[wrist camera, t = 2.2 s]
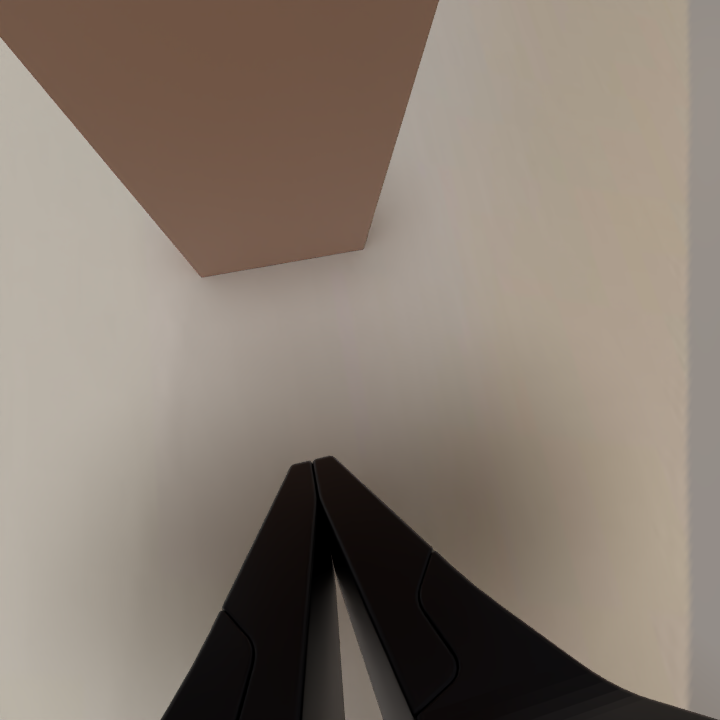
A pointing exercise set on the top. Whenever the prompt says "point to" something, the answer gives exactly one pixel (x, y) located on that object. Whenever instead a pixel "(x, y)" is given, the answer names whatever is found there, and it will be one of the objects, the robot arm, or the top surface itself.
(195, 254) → the tile
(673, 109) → the top surface
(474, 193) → the top surface
